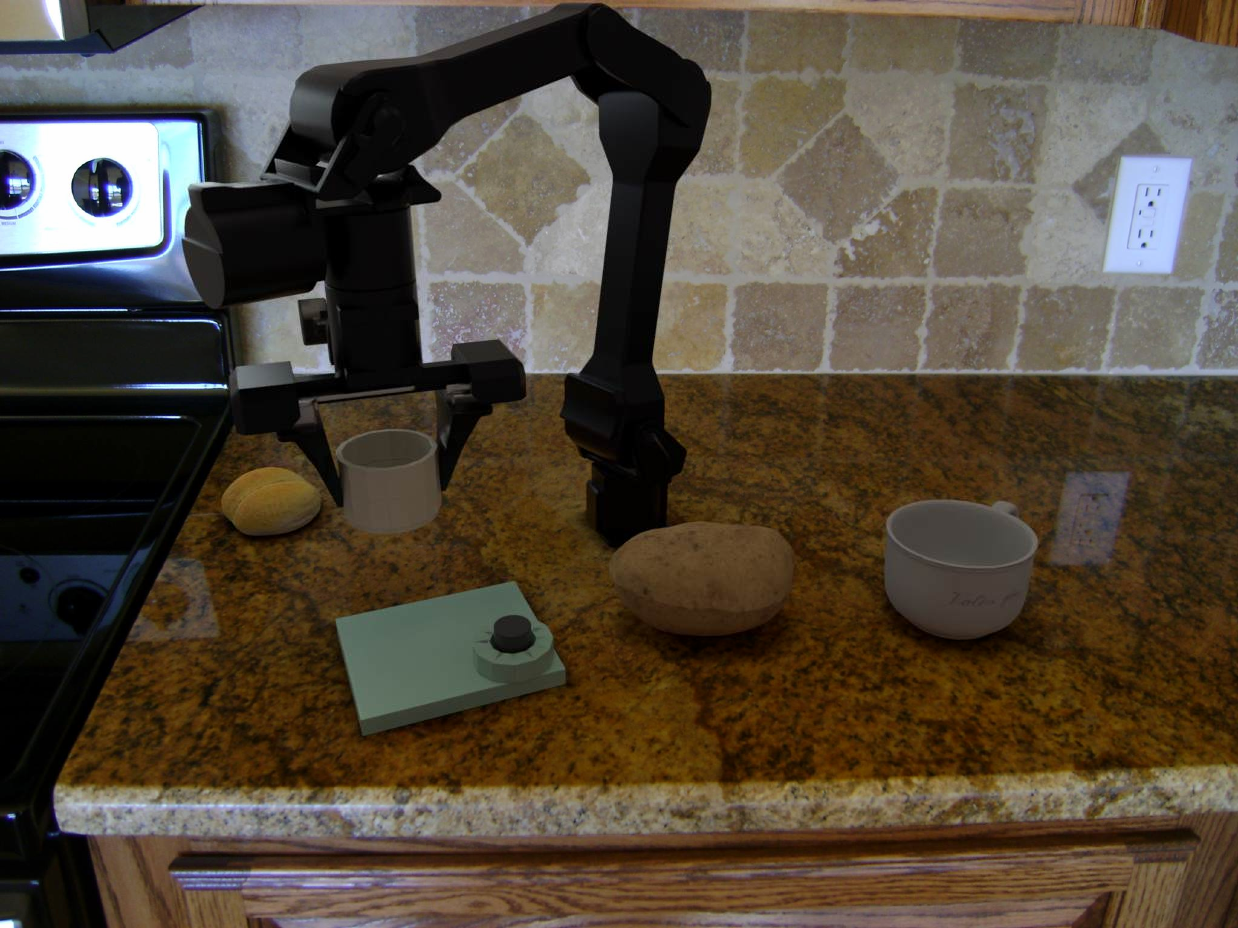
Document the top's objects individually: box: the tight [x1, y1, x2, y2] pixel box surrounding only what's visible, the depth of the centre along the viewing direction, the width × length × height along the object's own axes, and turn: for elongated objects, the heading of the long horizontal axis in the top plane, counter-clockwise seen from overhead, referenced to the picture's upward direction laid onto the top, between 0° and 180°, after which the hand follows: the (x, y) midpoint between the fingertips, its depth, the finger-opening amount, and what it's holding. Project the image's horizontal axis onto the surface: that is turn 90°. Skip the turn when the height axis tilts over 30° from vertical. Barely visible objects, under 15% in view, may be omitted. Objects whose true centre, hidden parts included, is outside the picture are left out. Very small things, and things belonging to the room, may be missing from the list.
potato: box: [608, 520, 796, 637], centre depth 70 cm, size 10×14×8 cm
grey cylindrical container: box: [334, 428, 443, 535], centre depth 66 cm, size 7×7×5 cm
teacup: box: [883, 499, 1039, 641], centre depth 72 cm, size 14×11×8 cm
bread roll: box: [221, 466, 322, 537], centre depth 86 cm, size 8×9×4 cm
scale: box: [335, 580, 567, 737], centre depth 67 cm, size 14×12×3 cm
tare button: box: [493, 615, 532, 654], centre depth 65 cm, size 3×3×2 cm
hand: (392, 496), depth 66 cm, fingers closed on grey cylindrical container, 7 cm apart
